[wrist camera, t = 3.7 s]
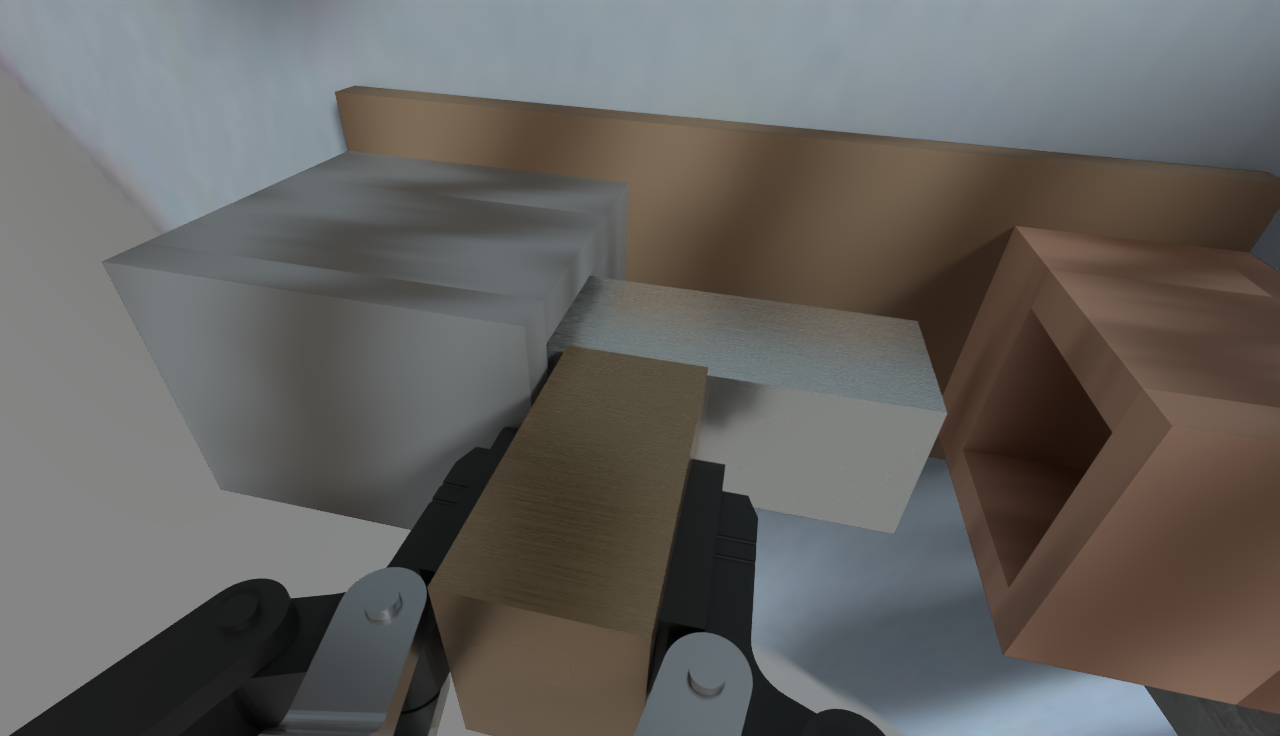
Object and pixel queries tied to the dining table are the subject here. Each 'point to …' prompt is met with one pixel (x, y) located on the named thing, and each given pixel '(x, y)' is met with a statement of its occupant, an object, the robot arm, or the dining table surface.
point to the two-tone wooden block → (663, 483)
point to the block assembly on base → (790, 273)
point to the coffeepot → (1213, 716)
